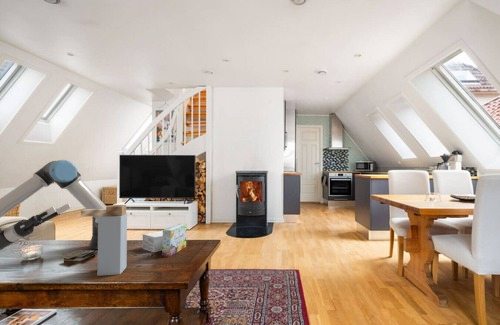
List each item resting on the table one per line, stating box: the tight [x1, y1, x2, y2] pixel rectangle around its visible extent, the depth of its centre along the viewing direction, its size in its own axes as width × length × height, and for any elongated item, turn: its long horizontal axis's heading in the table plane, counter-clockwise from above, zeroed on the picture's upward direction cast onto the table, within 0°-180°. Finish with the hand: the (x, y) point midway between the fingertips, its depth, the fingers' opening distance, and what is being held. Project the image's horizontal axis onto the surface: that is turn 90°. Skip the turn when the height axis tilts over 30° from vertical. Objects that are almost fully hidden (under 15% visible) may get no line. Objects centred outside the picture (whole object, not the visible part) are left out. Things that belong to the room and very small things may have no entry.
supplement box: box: [141, 230, 163, 253], centre depth 172 cm, size 17×13×9 cm
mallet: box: [80, 204, 127, 218], centre depth 132 cm, size 19×7×4 cm, turn 99°
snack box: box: [161, 223, 187, 258], centre depth 164 cm, size 21×6×15 cm, turn 168°
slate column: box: [96, 212, 128, 277], centre depth 132 cm, size 10×10×27 cm
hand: (62, 207), depth 132 cm, fingers open, 13 cm apart
